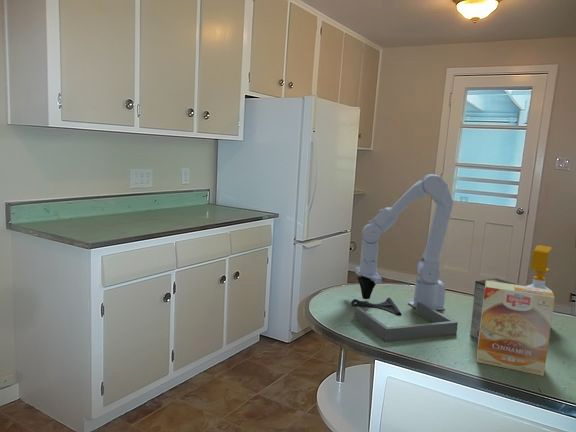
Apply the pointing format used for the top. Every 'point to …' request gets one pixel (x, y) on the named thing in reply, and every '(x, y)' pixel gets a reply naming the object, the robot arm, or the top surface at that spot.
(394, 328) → the box
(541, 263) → the soap bottle
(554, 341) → the top surface
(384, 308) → the bracket
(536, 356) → the coffeecake box
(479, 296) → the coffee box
